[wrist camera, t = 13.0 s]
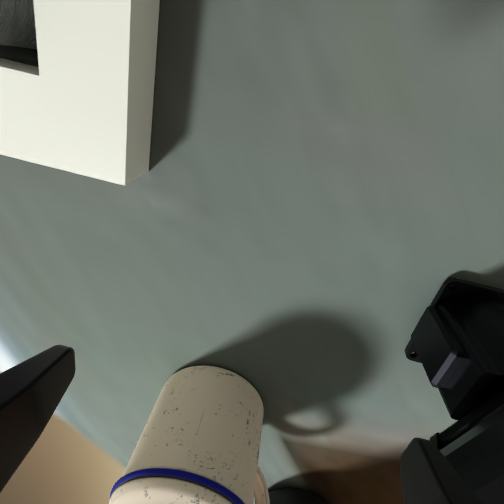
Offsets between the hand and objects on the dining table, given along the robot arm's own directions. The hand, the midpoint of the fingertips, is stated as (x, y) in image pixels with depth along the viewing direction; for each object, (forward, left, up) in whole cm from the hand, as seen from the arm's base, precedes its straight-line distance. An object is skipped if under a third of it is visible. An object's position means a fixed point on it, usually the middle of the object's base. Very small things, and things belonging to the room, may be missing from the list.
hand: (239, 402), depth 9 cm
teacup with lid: (0, +18, -13) cm, 22 cm away
